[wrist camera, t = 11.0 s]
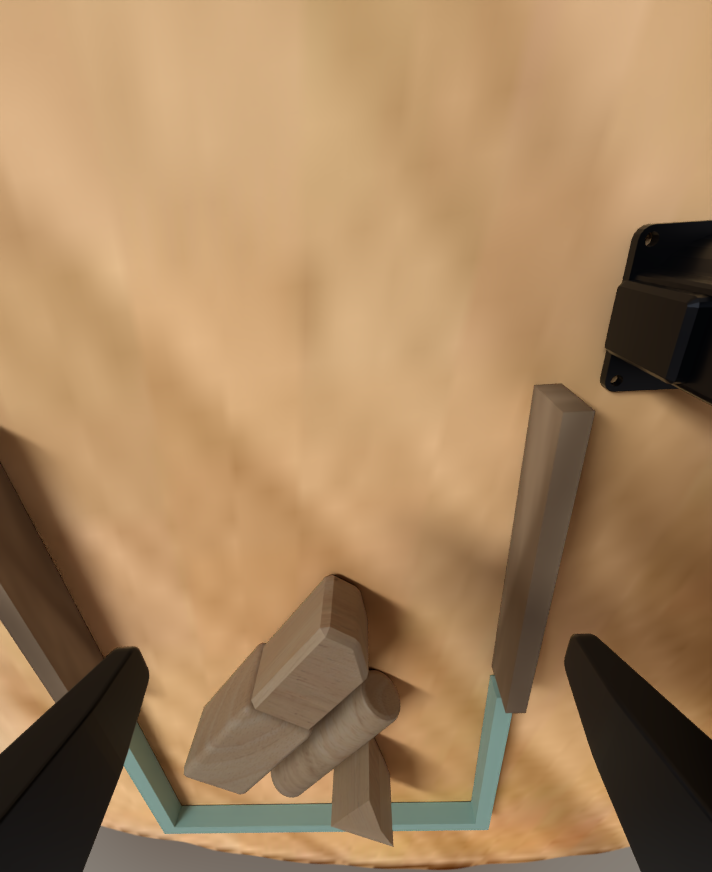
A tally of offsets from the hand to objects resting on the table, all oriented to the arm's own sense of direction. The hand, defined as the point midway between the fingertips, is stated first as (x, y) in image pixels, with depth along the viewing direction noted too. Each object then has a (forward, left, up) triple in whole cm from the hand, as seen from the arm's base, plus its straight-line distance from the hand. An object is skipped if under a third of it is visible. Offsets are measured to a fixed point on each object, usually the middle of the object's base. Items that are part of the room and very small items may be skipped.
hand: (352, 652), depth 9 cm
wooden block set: (+1, +22, -13) cm, 25 cm away
